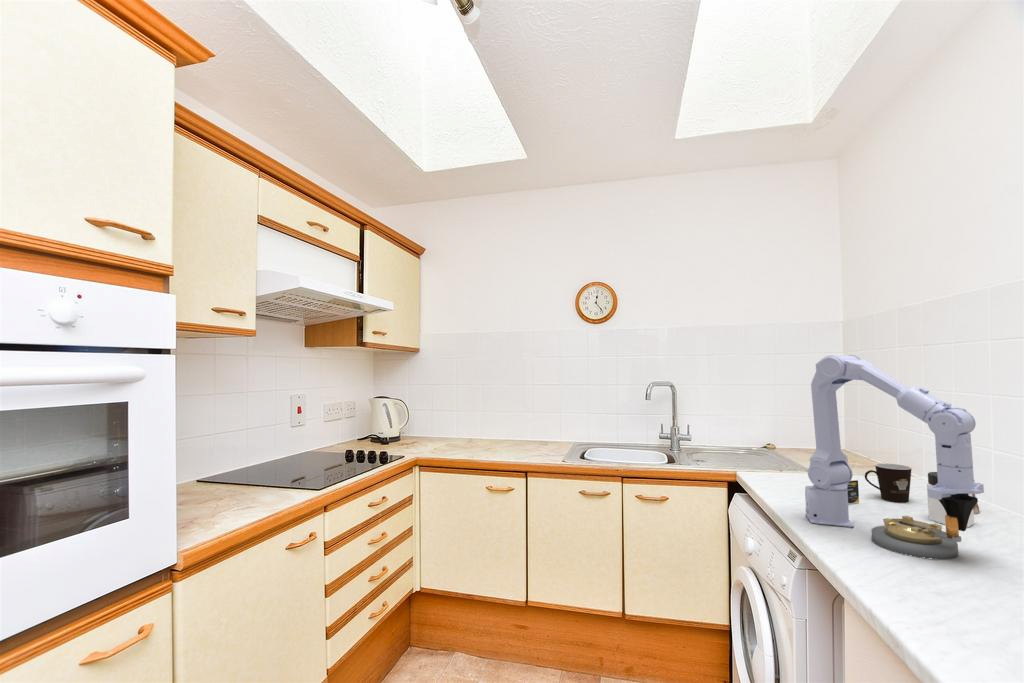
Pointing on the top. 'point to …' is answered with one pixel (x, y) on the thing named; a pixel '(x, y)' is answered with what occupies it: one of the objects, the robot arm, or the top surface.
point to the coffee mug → (893, 482)
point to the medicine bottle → (853, 491)
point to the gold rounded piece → (922, 530)
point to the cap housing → (914, 546)
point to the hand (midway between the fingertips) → (958, 529)
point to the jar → (936, 507)
